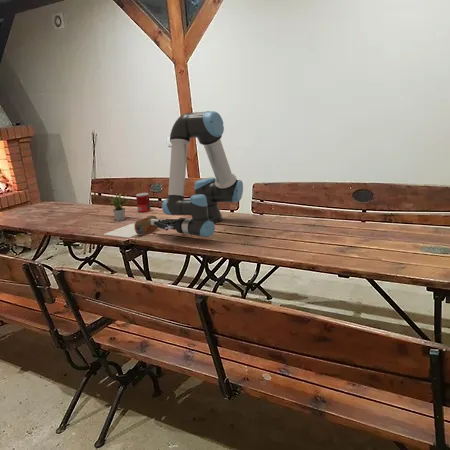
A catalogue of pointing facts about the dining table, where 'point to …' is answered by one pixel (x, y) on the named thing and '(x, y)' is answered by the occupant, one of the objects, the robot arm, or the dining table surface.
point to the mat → (123, 232)
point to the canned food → (143, 202)
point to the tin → (145, 225)
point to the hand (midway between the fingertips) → (151, 221)
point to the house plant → (118, 207)
